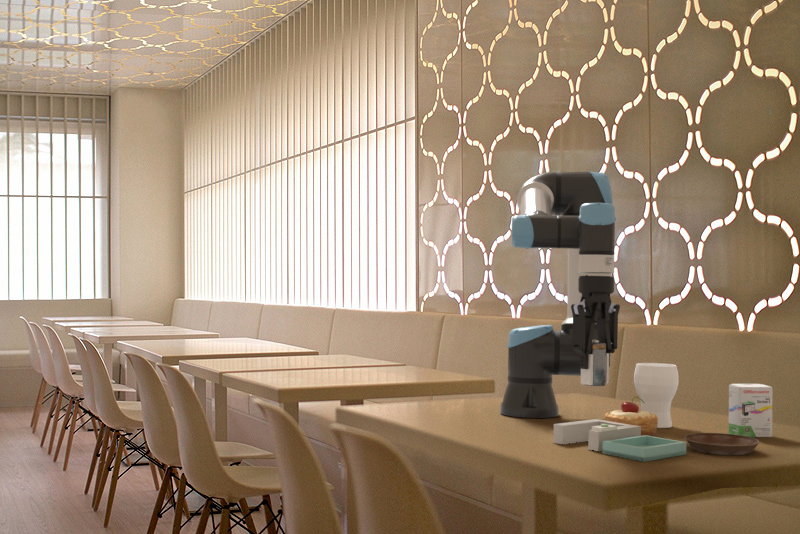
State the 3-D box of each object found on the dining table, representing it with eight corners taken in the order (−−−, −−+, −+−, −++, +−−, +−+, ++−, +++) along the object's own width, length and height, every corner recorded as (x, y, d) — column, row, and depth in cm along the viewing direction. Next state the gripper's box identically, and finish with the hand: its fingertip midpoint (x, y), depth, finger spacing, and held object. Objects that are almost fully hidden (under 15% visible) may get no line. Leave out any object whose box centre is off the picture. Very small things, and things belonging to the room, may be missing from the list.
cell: (579, 384, 192) (579, 339, 192) (592, 383, 195) (593, 339, 195) (596, 386, 189) (596, 341, 189) (609, 385, 192) (610, 340, 192)
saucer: (719, 460, 178) (719, 446, 178) (669, 447, 191) (669, 434, 191) (775, 455, 184) (775, 442, 184) (722, 443, 197) (722, 431, 197)
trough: (602, 453, 181) (602, 441, 181) (645, 446, 189) (645, 435, 190) (643, 461, 173) (643, 448, 173) (686, 454, 182) (686, 442, 182)
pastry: (594, 434, 209) (593, 396, 209) (635, 430, 213) (634, 393, 214) (626, 441, 198) (625, 400, 198) (669, 437, 202) (668, 397, 203)
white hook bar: (553, 442, 193) (553, 418, 193) (595, 436, 201) (596, 414, 201) (598, 451, 183) (598, 426, 183) (640, 445, 192) (641, 421, 192)
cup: (680, 430, 213) (681, 367, 214) (634, 428, 215) (635, 365, 216) (675, 423, 224) (676, 363, 224) (632, 421, 226) (632, 362, 226)
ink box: (739, 437, 204) (740, 385, 204) (727, 434, 209) (728, 383, 209) (773, 437, 206) (773, 385, 206) (760, 433, 211) (761, 383, 211)
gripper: (582, 274, 184) (581, 388, 184) (636, 275, 195) (634, 383, 194) (555, 274, 190) (553, 384, 190) (608, 275, 201) (607, 379, 200)
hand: (594, 383), depth 192 cm, fingers closed on cell, 4 cm apart
